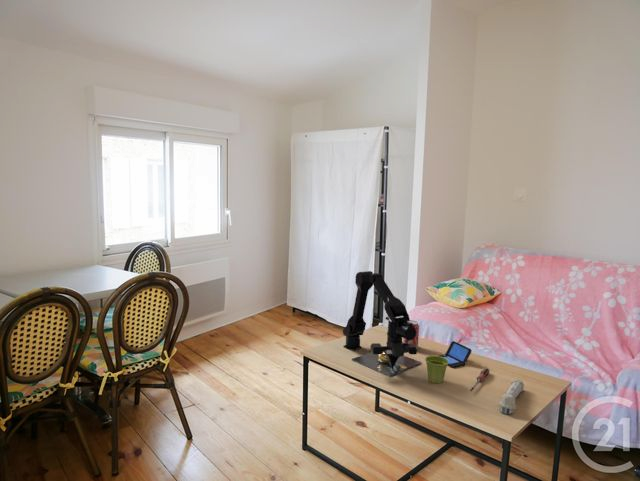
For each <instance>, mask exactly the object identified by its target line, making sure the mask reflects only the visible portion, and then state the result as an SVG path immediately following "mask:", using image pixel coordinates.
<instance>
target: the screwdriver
mask: <svg viewBox="0 0 640 481" xmlns="http://www.w3.org/2000/svg"><path fill="white" fill-rule="evenodd" d="M489 374H490V369H489V368H484V369H482V370H481V371H480V373H479V375H478V376H477V377H476V380H477V381H476V382H475V383H474V385H473V386H472V387H471V388H470V390H469V392H473V390H474V389H475V388H476V387H477V385H478V384H479V383H483V382H484V380H485V379H486V378H487V377H488V376H489Z"/></svg>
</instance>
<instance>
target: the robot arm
mask: <svg viewBox="0 0 640 481" xmlns="http://www.w3.org/2000/svg"><path fill="white" fill-rule="evenodd" d="M354 283H355V285H356V287H357V288H356V289H357V290H356V297H355V300H354V306H353V312H352V315H351V316H350V318H349V319H348V320H347V324H346V326H345V327H344V328H343V330H342V335H343V336H345V344H344V345H343V347H344V348H346V349H348V350H351V351H355V350H358V349H361V348H362V346H361V339H360V338H361V336H364V333H365V332H364V331H365V330H366V325H367V322H366V321H365V319H364V314H365V309H366V304H367V303H366V302H367V299H368V294H369V290H371V288H372V287H373V286H374V288H375V289H376V292H377V293H378V295H379V296H380V299H382V302H383V303H384V311H385V313H386V315H387V316H386V317H385V320H386V321H388V324H387V332H386V335H387V337H386V342H385V344H386V345H385V346H384V345H381V343H380V342H379V343H377V342H376V343H375V342H374V343H371V344H370V347H369V348H370V352H372V353H373V354H382V353H383V351H384V353H385V354H386V356H388V358H389V361H390V365H391V368H392V369H393V368H394V366H395V363H396V361H397V359H398V358H399V357H400V356H405V354H407V353H408V354H409V355H417V354H418V348H416V347H415V346H414V345H413V344H408V343H403V338H405V339H407V340H413V339H414V338H415V336H416V329H415V328H414V327H413V323H409V322H407V321H410V320H411V319H410V315H409V313H408V311H407V308H406V305H405V304H404V302H402V300H401V299H399V298H397V297H396V296H395V295H394V294H393V292H392V290H391V289H390V287H389V286H388V284H387V283H386V282H385V279H384V278H383V274H382V273H379V272H377V273H376V272H375V273H374V272H373V271H372V270H367V271H358V272H356V275H355V282H354Z"/></svg>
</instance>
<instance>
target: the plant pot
mask: <svg viewBox="0 0 640 481" xmlns="http://www.w3.org/2000/svg"><path fill="white" fill-rule="evenodd" d="M424 360H425V364H426V371H427V380H428V381H429V382H431V383H433V384H441V383H443V382H444V379H445V374H446V371H447V367H448V366H447V365H448V364H449V361H448V360H447V359H446V358H443V357H440V355H428V356H426V357H425V358H424Z"/></svg>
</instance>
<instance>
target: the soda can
mask: <svg viewBox="0 0 640 481" xmlns="http://www.w3.org/2000/svg"><path fill="white" fill-rule="evenodd" d="M407 322H409V323H413V327H414V328H415V329H416V336H415V338H414V339H413V340H407V339H405V338H403V337H402V342H403V343H408V344H413V345H414V346H415V347H416V348H417V349H418V347H419V335H420V325H419V322H418V321H416V320H414V319H413V320H412V319H410V321H407Z"/></svg>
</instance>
